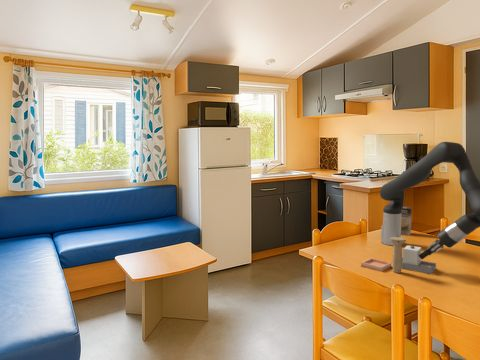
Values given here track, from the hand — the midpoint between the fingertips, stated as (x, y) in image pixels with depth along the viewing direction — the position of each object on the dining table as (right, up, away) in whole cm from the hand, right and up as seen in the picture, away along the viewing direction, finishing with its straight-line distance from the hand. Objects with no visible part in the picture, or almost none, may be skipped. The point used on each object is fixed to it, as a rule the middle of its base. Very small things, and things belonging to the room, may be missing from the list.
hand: (420, 257), depth 172 cm
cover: (-3, -3, +3) cm, 5 cm away
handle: (-12, -6, -3) cm, 14 cm away
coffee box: (+18, +2, +62) cm, 64 cm away
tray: (-18, -5, +5) cm, 19 cm away
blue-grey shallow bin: (-1, -5, +2) cm, 6 cm away
